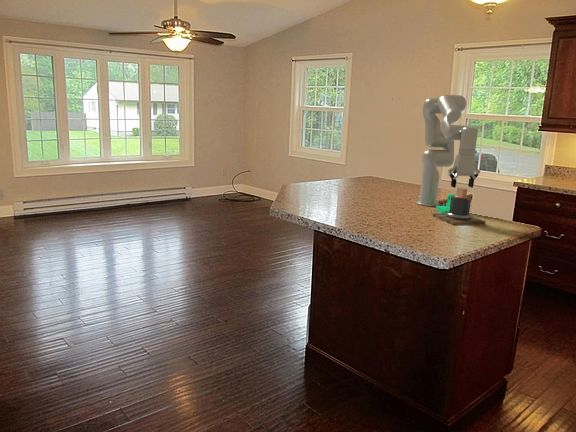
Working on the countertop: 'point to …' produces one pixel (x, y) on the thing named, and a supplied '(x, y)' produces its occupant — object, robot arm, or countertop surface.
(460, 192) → the tan knob
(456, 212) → the black hollow cylinder
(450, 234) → the countertop surface
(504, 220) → the countertop surface
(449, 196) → the camera mount
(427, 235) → the countertop surface
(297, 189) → the countertop surface
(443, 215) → the mount board
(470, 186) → the robot arm
